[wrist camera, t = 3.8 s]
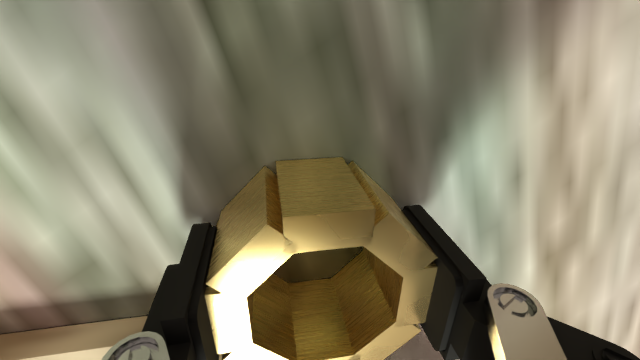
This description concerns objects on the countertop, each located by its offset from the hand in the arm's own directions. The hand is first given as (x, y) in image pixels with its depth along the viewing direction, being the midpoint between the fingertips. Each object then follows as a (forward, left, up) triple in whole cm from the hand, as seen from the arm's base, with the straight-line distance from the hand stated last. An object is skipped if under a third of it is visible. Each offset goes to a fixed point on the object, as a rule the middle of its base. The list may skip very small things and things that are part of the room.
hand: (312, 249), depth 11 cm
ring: (0, 0, -1) cm, 1 cm away
